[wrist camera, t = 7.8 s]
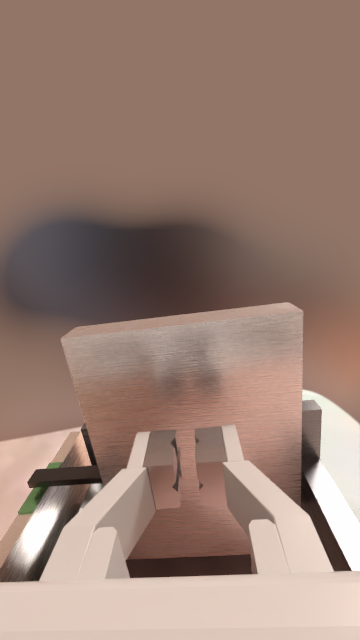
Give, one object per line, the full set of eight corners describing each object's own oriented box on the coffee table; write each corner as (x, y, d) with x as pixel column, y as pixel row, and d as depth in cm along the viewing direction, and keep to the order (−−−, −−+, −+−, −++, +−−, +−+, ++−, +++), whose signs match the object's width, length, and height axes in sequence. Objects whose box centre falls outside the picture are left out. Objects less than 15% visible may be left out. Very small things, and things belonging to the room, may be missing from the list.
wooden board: (54, 562, 15) (-36, 349, 11) (66, 534, 16) (-9, 337, 12) (300, 552, 14) (303, 311, 10) (289, 523, 15) (288, 302, 11)
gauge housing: (-42, 840, 9) (-161, 736, 6) (90, 501, 20) (64, 421, 18) (501, 870, 7) (595, 751, 5) (311, 488, 19) (314, 399, 16)
